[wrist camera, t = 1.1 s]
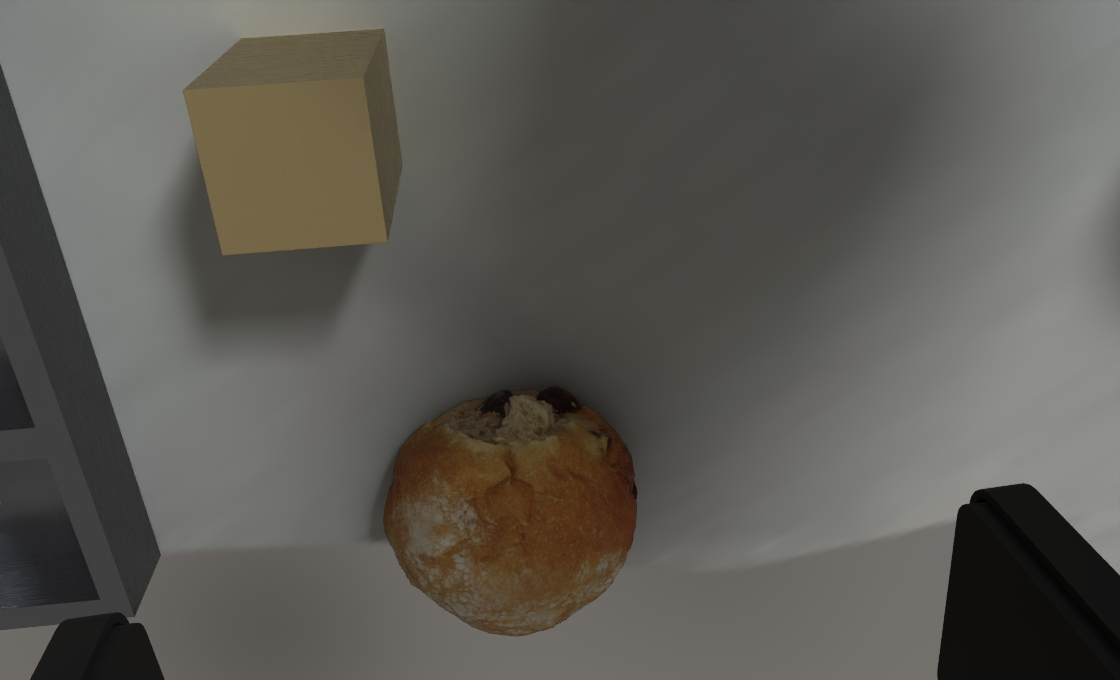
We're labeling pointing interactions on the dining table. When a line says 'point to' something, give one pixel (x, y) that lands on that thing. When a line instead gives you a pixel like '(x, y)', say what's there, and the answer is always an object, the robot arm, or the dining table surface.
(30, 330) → the grey compartment tray
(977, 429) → the dining table surface
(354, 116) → the tan cubic block
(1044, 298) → the dining table surface
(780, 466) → the dining table surface
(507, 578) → the bread roll
